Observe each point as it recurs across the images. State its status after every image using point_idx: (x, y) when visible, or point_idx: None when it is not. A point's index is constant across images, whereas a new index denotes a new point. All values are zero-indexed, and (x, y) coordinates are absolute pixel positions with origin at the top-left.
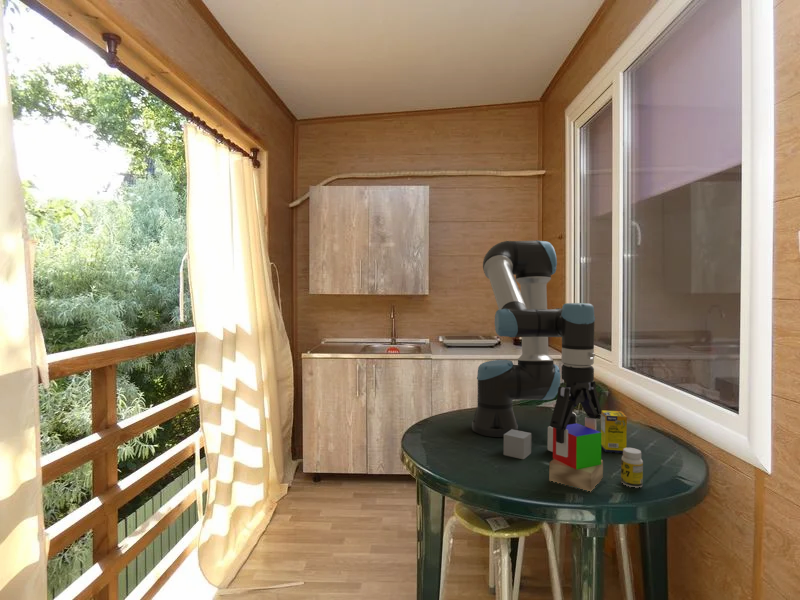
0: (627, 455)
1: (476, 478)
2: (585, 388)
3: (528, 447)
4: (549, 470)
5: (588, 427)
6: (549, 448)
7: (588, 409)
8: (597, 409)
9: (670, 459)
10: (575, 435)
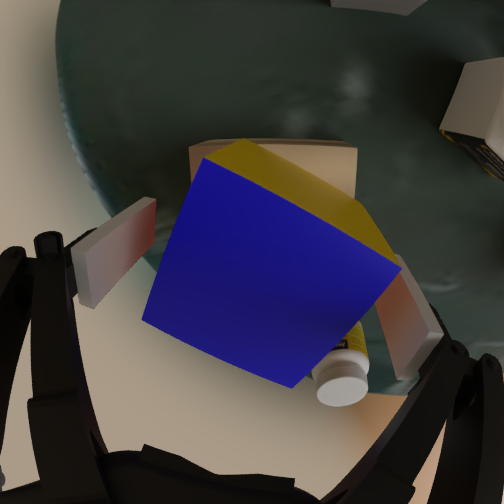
0: (318, 379)
1: (99, 2)
2: None
3: (388, 2)
4: (199, 143)
5: (401, 312)
6: (465, 69)
7: (400, 412)
8: (449, 416)
9: (501, 346)
10: (151, 313)
